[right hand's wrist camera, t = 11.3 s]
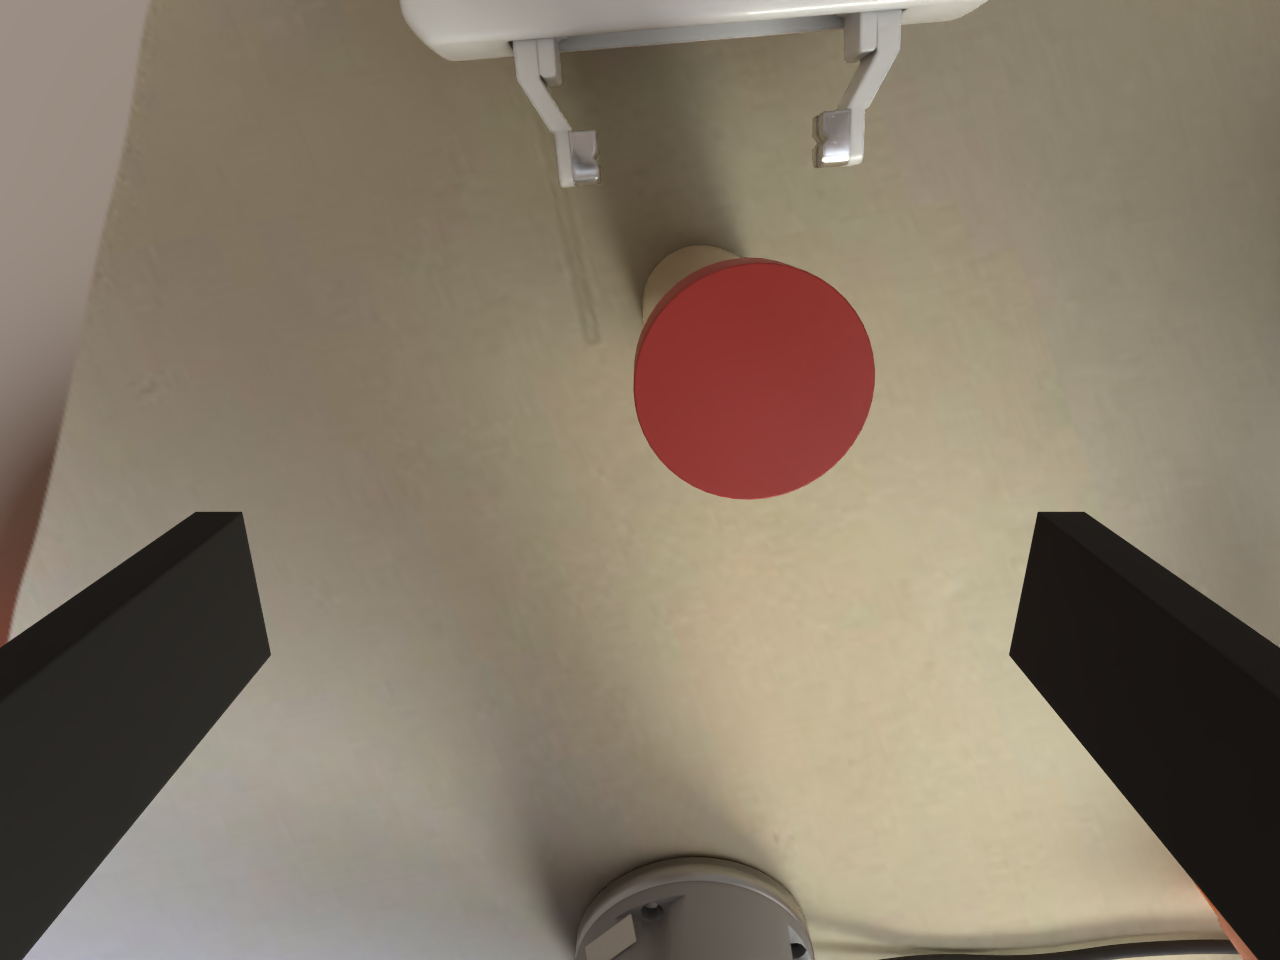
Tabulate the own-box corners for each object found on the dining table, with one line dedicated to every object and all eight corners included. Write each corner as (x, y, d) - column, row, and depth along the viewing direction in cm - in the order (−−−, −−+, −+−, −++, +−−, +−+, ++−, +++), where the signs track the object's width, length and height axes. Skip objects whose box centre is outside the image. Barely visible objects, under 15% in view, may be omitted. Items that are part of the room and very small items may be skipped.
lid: (602, 430, 21) (599, 453, 19) (684, 221, 19) (689, 222, 17) (795, 502, 22) (810, 531, 20) (892, 307, 20) (918, 318, 18)
